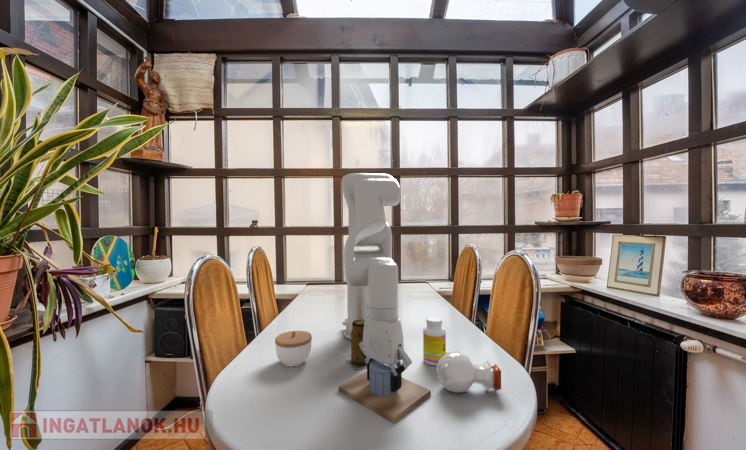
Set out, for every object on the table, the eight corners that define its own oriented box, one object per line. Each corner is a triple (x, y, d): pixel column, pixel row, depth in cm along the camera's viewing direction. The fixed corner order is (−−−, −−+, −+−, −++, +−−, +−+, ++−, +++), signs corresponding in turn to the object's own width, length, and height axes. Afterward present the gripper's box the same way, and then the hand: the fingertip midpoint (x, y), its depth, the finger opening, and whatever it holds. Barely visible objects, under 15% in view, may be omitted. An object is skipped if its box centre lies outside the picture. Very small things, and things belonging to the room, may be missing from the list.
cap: (372, 397, 71) (372, 372, 71) (367, 382, 78) (367, 358, 78) (401, 394, 72) (401, 369, 72) (394, 379, 79) (394, 356, 79)
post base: (338, 390, 76) (338, 368, 76) (376, 370, 87) (376, 350, 86) (394, 423, 64) (393, 396, 64) (430, 395, 74) (430, 371, 74)
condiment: (366, 354, 97) (366, 316, 97) (378, 365, 90) (378, 324, 90) (345, 358, 94) (345, 320, 94) (356, 370, 87) (355, 328, 87)
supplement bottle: (446, 367, 88) (445, 323, 88) (422, 365, 89) (422, 321, 89) (445, 357, 95) (445, 316, 94) (423, 355, 96) (423, 315, 96)
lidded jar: (319, 361, 92) (318, 330, 92) (287, 374, 85) (287, 341, 85) (299, 351, 100) (298, 323, 100) (268, 362, 92) (268, 331, 92)
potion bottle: (432, 391, 78) (492, 400, 77) (440, 386, 70) (506, 396, 69) (433, 353, 83) (489, 361, 82) (440, 344, 75) (502, 353, 74)
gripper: (348, 308, 78) (348, 377, 78) (401, 323, 66) (402, 404, 67) (368, 302, 84) (369, 367, 84) (421, 315, 72) (422, 390, 72)
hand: (383, 383), depth 75 cm, fingers closed on cap, 7 cm apart
